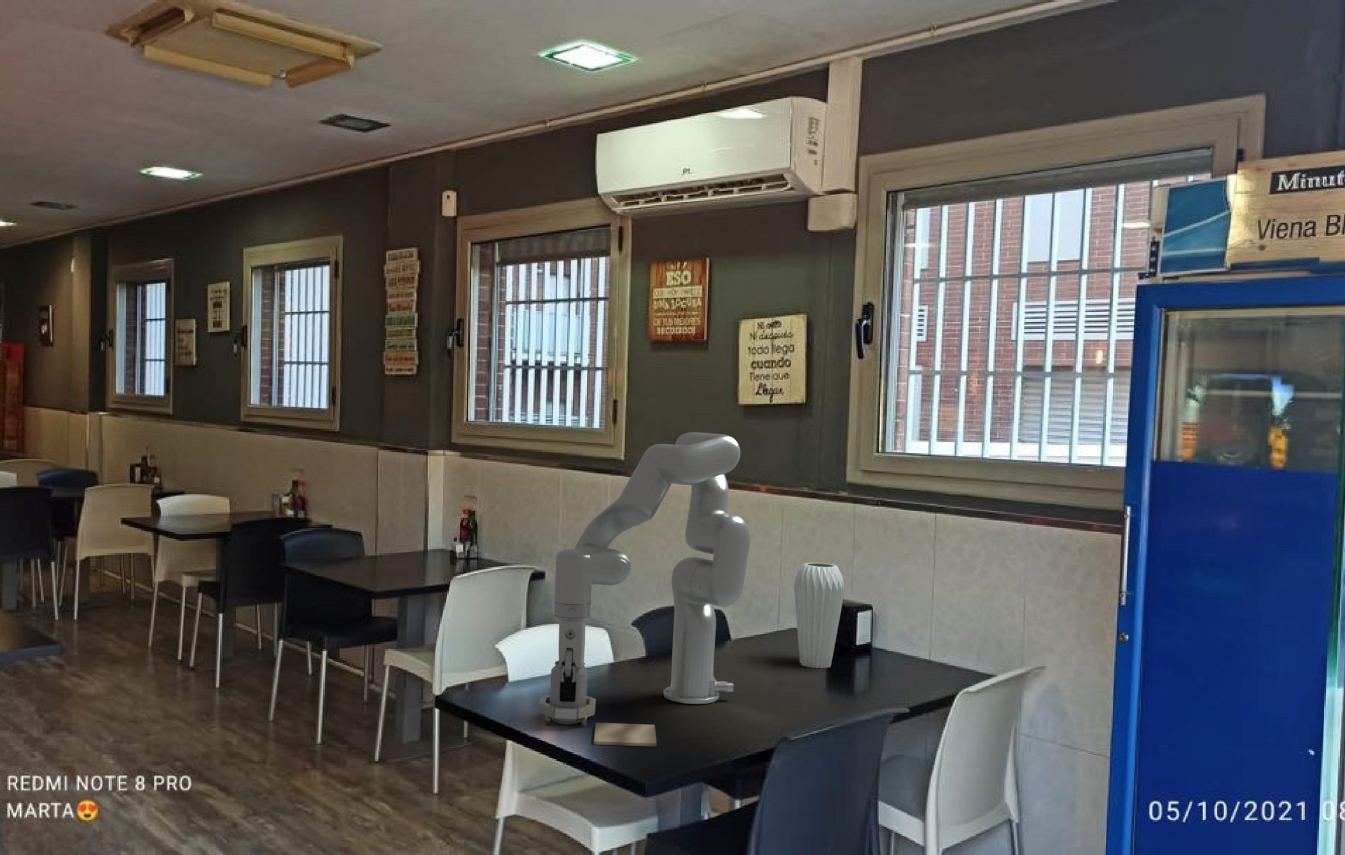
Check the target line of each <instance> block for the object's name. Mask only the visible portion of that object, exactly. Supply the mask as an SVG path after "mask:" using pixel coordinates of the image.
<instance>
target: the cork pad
mask: <svg viewBox="0 0 1345 855" xmlns="http://www.w3.org/2000/svg"><path fill="white" fill-rule="evenodd" d="M656 734H657V733H656V725H655V724H643V723H640V724H639V723H615V722H595V728H594V736H593V737H594V738H593V745H598V746H599V745H602V746H603V745H604V746H627V747H628V746H630V747H631V746H632V747H657V736H656Z"/></svg>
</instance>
